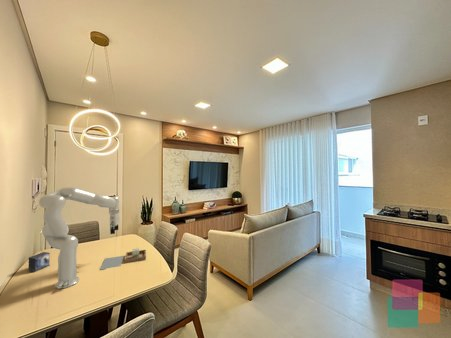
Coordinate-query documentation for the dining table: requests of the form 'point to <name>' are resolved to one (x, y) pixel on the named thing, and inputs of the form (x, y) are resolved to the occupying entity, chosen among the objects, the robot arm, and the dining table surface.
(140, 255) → the walnut bin
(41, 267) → the small box
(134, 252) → the sage block
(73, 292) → the dining table surface
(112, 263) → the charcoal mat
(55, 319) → the dining table surface
